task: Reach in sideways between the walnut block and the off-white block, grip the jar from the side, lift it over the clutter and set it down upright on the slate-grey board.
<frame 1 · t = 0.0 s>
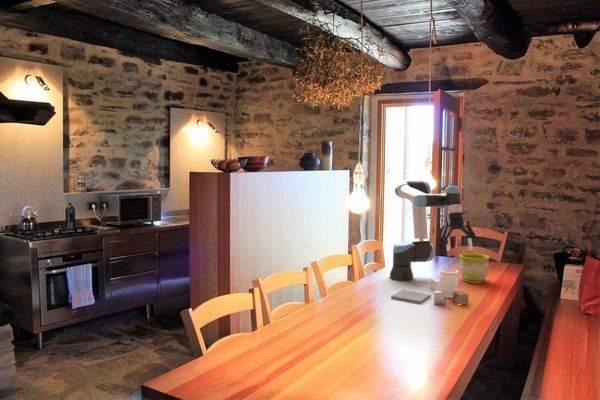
hand: (459, 250, 281), 28 cm above the table, tool tilted 20°, fingers open, 13 cm apart
flowerpot: (473, 281, 325), on the table
offwhite block: (437, 289, 303), on the table
slate board: (411, 297, 286), on the table
walnut block: (460, 303, 276), on the table
metal tin: (439, 304, 274), on the table
jar: (448, 296, 290), on the table
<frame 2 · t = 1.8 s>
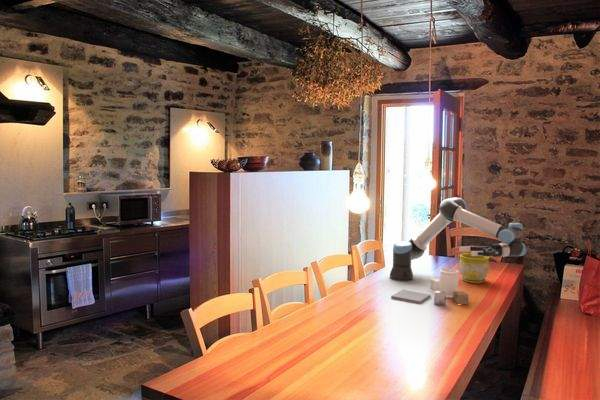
hand: (465, 251, 289), 26 cm above the table, tool horizontal, fingers open, 13 cm apart
nothing on the table moved.
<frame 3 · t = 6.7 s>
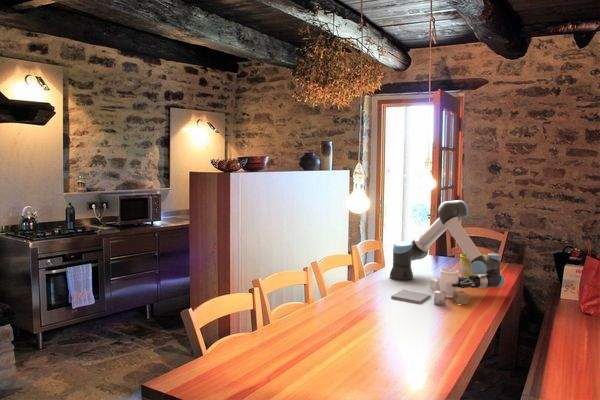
hand: (441, 282, 288), 8 cm above the table, tool horizontal, fingers closed on jar, 10 cm apart
jar: (448, 296, 290), on the table, touching gripper
everything else where it was.
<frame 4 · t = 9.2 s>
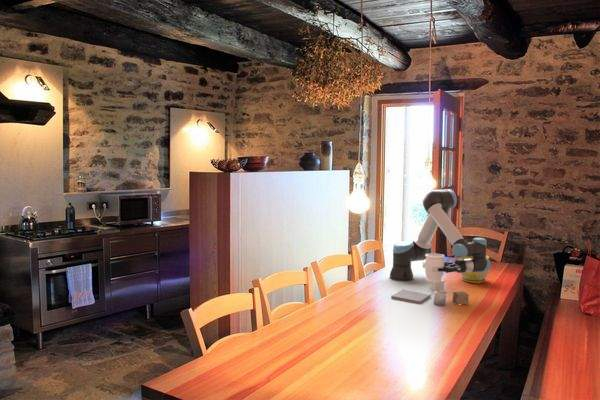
hand: (427, 267, 283), 18 cm above the table, tool horizontal, fingers closed on jar, 10 cm apart
jar: (433, 281, 285), point 10 cm above the table, touching gripper
everything else where it was.
when the fingers open (11 cm above the table, at t = 12.0 s): jar drops 1 cm, resting on slate board.
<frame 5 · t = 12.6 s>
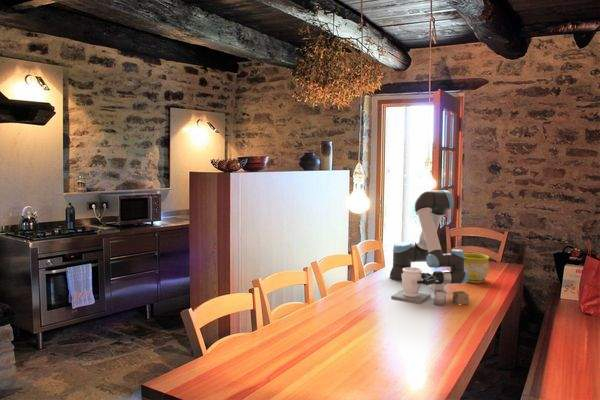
hand: (406, 278, 284), 11 cm above the table, tool horizontal, fingers open, 13 cm apart
jar: (411, 295, 285), point 1 cm above the table, touching slate board
everything else where it was.
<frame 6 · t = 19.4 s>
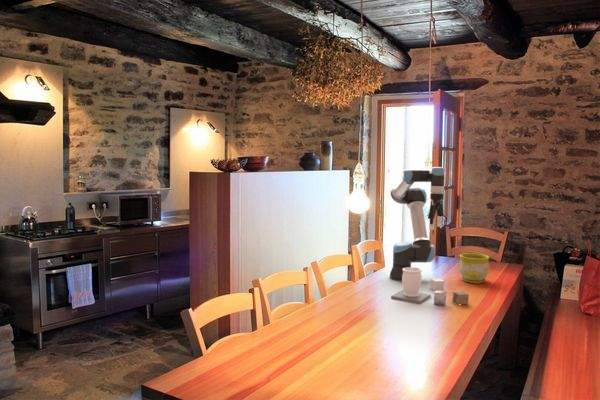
hand: (435, 228, 303), 37 cm above the table, tool pointing down, fingers open, 13 cm apart
nothing on the table moved.
at the end: jar inside the target area on the slate board (0.1 cm from its centre), point 1.0 cm above the slate board's base; jar tilted 0°; the gripper is holding nothing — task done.
